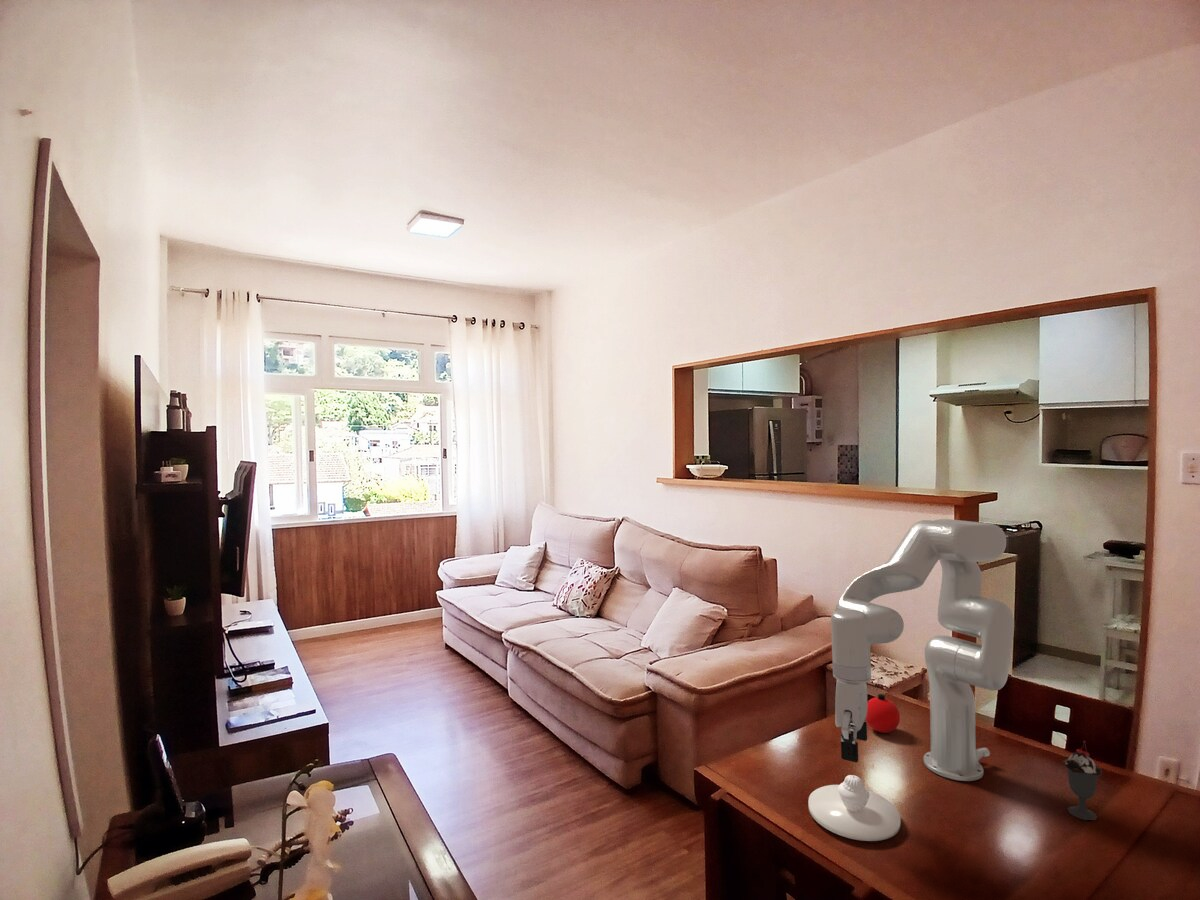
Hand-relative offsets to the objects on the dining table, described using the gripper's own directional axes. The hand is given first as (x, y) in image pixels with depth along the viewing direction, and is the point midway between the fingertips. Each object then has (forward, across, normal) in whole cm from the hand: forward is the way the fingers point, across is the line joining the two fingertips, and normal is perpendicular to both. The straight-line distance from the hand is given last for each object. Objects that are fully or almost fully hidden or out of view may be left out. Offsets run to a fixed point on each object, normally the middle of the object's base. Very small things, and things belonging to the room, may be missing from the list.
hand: (854, 749), depth 130 cm
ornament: (+16, -44, -2) cm, 46 cm away
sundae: (+16, -25, +40) cm, 50 cm away
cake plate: (+14, +1, -1) cm, 14 cm away
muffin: (+13, +1, 0) cm, 13 cm away
